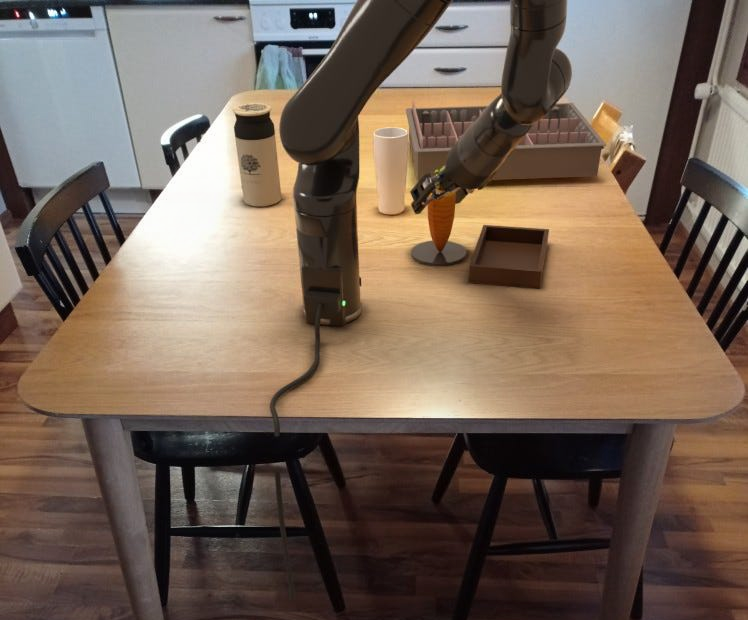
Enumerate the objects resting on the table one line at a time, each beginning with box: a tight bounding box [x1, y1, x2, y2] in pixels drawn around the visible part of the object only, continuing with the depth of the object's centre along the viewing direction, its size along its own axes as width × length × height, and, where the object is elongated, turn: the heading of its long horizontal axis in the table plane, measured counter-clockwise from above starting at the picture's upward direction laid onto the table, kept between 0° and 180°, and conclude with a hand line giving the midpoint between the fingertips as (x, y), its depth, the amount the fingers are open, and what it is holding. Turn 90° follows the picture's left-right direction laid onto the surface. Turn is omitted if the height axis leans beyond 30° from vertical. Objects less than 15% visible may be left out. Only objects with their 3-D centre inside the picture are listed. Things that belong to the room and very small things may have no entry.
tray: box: [468, 224, 550, 289], centre depth 137 cm, size 18×12×3 cm, turn 167°
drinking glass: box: [372, 126, 409, 216], centre depth 153 cm, size 7×7×15 cm
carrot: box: [427, 166, 456, 252], centre depth 136 cm, size 5×5×15 cm
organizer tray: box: [405, 100, 607, 183], centre depth 175 cm, size 32×40×10 cm
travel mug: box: [232, 102, 282, 208], centre depth 158 cm, size 8×8×18 cm
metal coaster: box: [410, 240, 467, 267], centre depth 141 cm, size 10×10×1 cm
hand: (435, 203), depth 136 cm, fingers open, 8 cm apart
